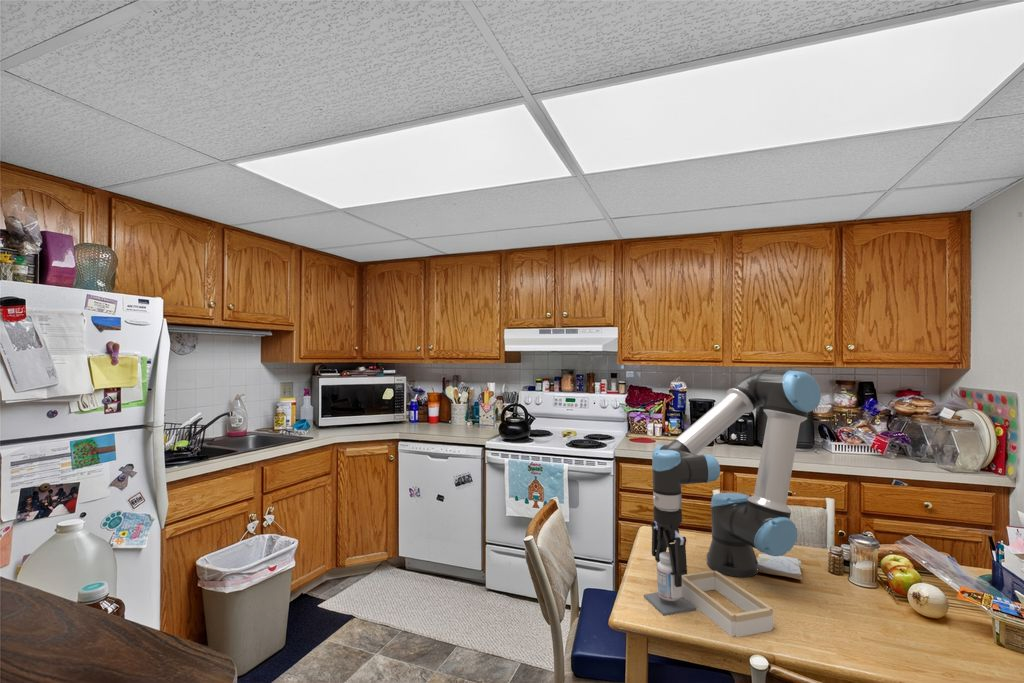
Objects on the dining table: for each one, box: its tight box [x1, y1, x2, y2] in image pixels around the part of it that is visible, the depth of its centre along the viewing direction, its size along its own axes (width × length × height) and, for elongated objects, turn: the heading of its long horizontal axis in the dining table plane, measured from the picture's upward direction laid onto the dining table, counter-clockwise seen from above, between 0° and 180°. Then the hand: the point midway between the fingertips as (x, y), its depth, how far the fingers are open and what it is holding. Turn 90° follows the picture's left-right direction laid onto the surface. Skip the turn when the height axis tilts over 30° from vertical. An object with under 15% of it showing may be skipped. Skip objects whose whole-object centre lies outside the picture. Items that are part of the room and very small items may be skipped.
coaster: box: [643, 591, 697, 616], centre depth 131 cm, size 10×10×1 cm
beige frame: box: [681, 570, 774, 638], centre depth 127 cm, size 12×22×5 cm, turn 14°
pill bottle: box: [656, 551, 680, 601], centre depth 131 cm, size 6×6×11 cm
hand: (669, 590), depth 131 cm, fingers closed on pill bottle, 6 cm apart
